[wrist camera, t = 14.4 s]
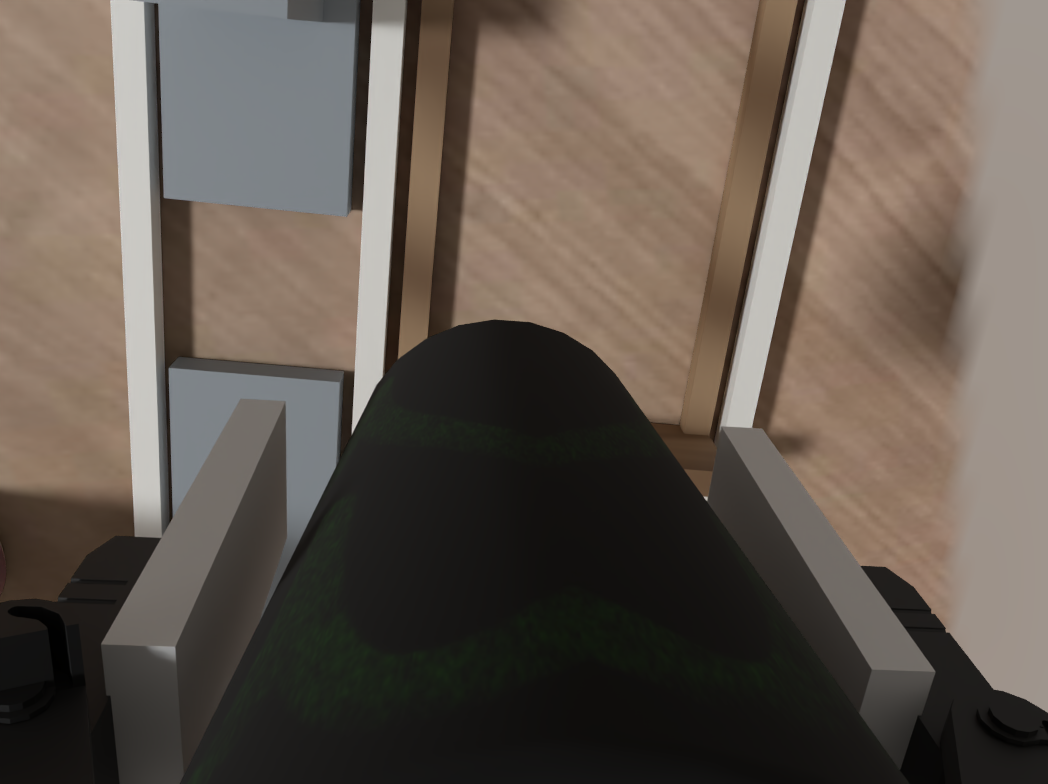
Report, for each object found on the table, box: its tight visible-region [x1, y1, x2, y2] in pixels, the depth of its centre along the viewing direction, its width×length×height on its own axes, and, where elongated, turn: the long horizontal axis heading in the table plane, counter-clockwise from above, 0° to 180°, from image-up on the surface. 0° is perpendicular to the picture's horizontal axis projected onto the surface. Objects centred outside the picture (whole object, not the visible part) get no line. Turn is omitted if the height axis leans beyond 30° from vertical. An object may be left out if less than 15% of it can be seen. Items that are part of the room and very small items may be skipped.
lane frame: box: [110, 0, 846, 622], centre depth 33 cm, size 34×23×1 cm
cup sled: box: [398, 0, 798, 497], centre depth 26 cm, size 30×12×8 cm, turn 174°
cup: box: [180, 320, 910, 784], centre depth 13 cm, size 8×8×12 cm
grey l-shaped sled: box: [133, 0, 361, 217], centre depth 26 cm, size 10×6×7 cm, turn 174°
